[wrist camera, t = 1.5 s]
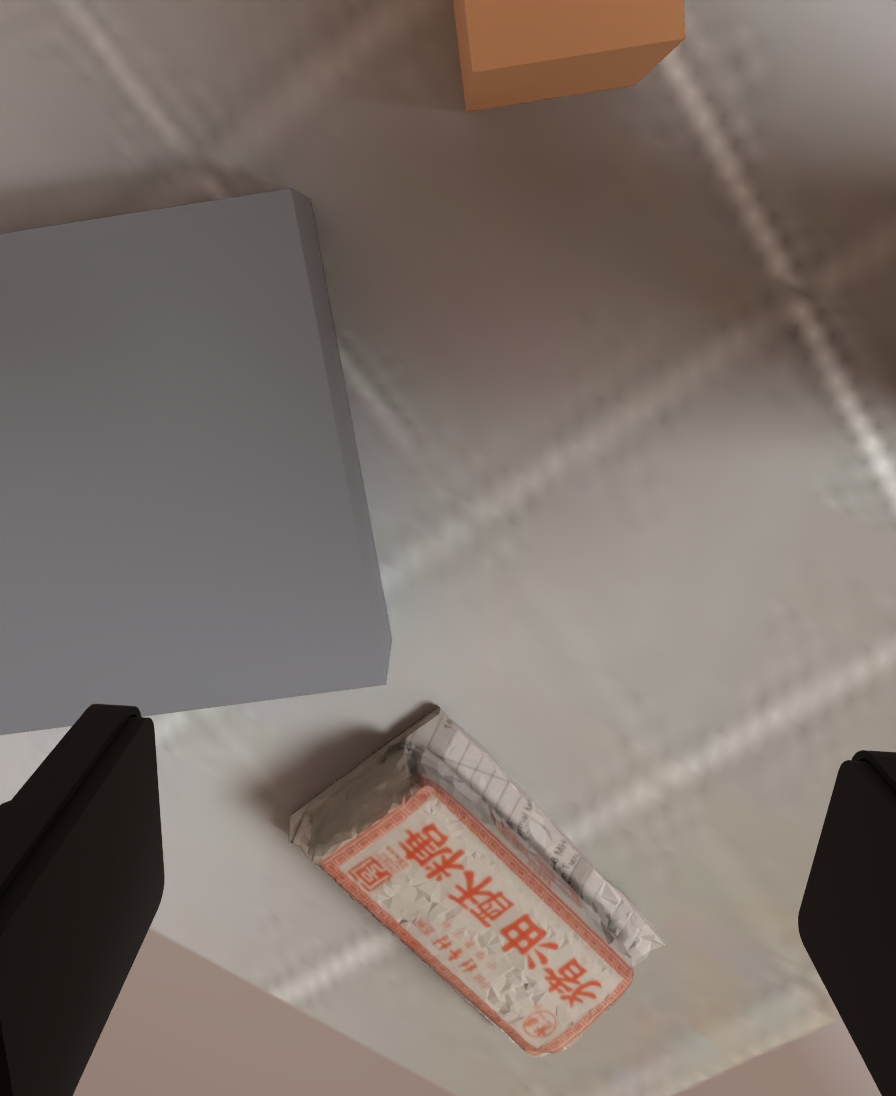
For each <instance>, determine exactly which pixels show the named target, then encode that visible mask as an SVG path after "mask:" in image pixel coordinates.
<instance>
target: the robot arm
mask: <svg viewBox="0 0 896 1096" xmlns="http://www.w3.org/2000/svg"><path fill="white" fill-rule="evenodd" d="M163 889H164V863H163V849H162V834H161V819H160V805H159V790H158V775H157V761H156V746H155V732H154V724H153V721H152V719H150V718H142V717H141V713H140V710H139V708H137V707H136V706H125V705H109V704H92V705H90V706H89V707H88V708H87V709H86V710H85V712H84V713H83V714H82V715H81V716H80V718H79V719H78V720H77V721H76V722H75V724H74V725H73V726H72V727H71V728H70V730H69V731H68V732H67V733H66V735H65V736H64V737H63V738H62V739H61V741H60V742H59V743H58V744H57V745H56V747H55V748H54V749H53V750H52V752H51V753H50V754H49V755H48V756H47V758H46V759H45V760H44V761H43V762H42V764H41V765H40V766H39V767H38V768H37V770H36V771H35V772H34V773H33V775H32V776H31V777H30V778H29V779H28V781H27V782H26V783H25V784H24V785H23V787H22V788H21V789H20V790H19V791H18V793H17V794H16V795H15V796H14V798H13V799H12V800H11V801H8V802H5V803H3V804H1V805H0V1096H73V1093H74V1091H75V1089H76V1087H77V1085H78V1083H79V1080H80V1078H81V1076H82V1074H83V1072H84V1069H85V1067H86V1065H87V1063H88V1061H89V1058H90V1056H91V1054H92V1052H93V1050H94V1048H95V1045H96V1043H97V1041H98V1039H99V1037H100V1034H101V1032H102V1030H103V1028H104V1026H105V1023H106V1021H107V1019H108V1017H109V1015H110V1012H111V1010H112V1008H113V1006H114V1004H115V1001H116V999H117V997H118V995H119V993H120V991H121V988H122V986H123V984H124V982H125V980H126V978H127V975H128V973H129V971H130V969H131V967H132V964H133V962H134V960H135V958H136V955H137V953H138V951H139V949H140V947H141V945H142V943H143V940H144V938H145V936H146V934H147V932H148V929H149V927H150V925H151V923H152V921H153V918H154V916H155V914H156V912H157V910H158V907H159V905H160V902H161V898H162V894H163ZM798 926H799V933H800V937H801V940H802V942H803V945H804V947H805V949H806V950H807V952H808V954H809V956H810V958H811V960H812V962H813V964H814V966H815V968H816V970H817V972H818V974H819V975H820V977H821V979H822V981H823V983H824V985H825V987H826V989H827V991H828V993H829V995H830V997H831V999H832V1000H833V1002H834V1004H835V1006H836V1008H837V1010H838V1012H839V1014H840V1016H841V1018H842V1020H843V1022H844V1023H845V1025H846V1027H847V1029H848V1031H849V1033H850V1035H851V1037H852V1039H853V1041H854V1043H855V1045H856V1046H857V1049H858V1050H859V1052H860V1054H861V1056H862V1058H863V1060H864V1062H865V1064H866V1066H867V1068H868V1070H869V1072H870V1073H871V1075H872V1077H873V1079H874V1081H875V1083H876V1085H877V1087H878V1089H879V1091H880V1093H881V1094H882V1096H896V752H881V751H864V750H862V751H859V752H857V753H856V754H855V755H854V756H853V758H852V760H847V761H844V762H843V763H842V765H841V766H840V769H839V771H838V775H837V779H836V782H835V786H834V789H833V793H832V796H831V800H830V804H829V807H828V811H827V814H826V818H825V821H824V825H823V828H822V832H821V836H820V839H819V843H818V846H817V850H816V853H815V857H814V861H813V864H812V868H811V871H810V875H809V878H808V882H807V886H806V889H805V893H804V896H803V900H802V903H801V907H800V911H799V916H798Z"/></svg>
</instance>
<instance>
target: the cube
mask: <svg viewBox="0 0 896 1096" xmlns="http://www.w3.org/2000/svg"><path fill="white" fill-rule="evenodd" d="M453 8H454V16H455V25H456V33H457V41H458V50H459V58H460V66H461V75H462V83H463V91H464V100H465V108H466V112H469V111H476V110H482V109H488V108H495V107H501V106H507V105H513V104H520V103H526V102H532V101H539V100H545V99H551V98H557V97H564V96H570V95H576V94H583V93H589V92H595V91H601V90H608V89H614V88H620V87H626V86H633V85H636V84H637V83H638V82H639V81H640V80H641V79H642V78H643V77H644V76H645V75H646V74H648V73H649V72H650V71H651V70H652V69H653V68H654V67H655V66H656V65H657V64H658V63H659V62H660V61H661V60H662V59H663V58H665V57H666V56H667V55H668V54H669V53H670V52H671V51H672V50H673V49H674V48H675V47H676V46H677V45H678V44H679V43H680V42H682V41H683V40H684V39H685V25H684V0H453Z"/></svg>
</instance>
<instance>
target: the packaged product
mask: <svg viewBox="0 0 896 1096" xmlns="http://www.w3.org/2000/svg"><path fill="white" fill-rule="evenodd" d="M289 842H291V843H293V844H295V845H297V846H299V847H301V848H302V850H303V851H304V853H305V854H306V856H307V857H308V858H310V859H311V860H312V862H314V863H316V864H318V865H319V866H320V867H321V869H323V870H324V871H325V873H327V874H328V875H329V876H331V877H332V878H333V879H334V880H335V881H336V882H337V884H338V885H339V886H340V887H342V888H343V889H344V890H346V891H347V892H348V893H349V894H350V897H351V898H352V899H353V900H356V901H358V902H359V903H360V905H361V906H363V907H364V908H365V909H367V910H368V911H369V912H371V913H372V914H373V917H375V918H376V919H377V920H378V921H379V922H380V924H382V925H383V926H384V927H386V928H387V929H388V930H389V931H390V932H391V933H393V934H394V935H395V936H396V937H398V938H399V939H400V940H401V941H402V942H403V943H405V944H406V945H407V946H408V947H409V948H410V949H411V950H412V951H413V952H414V953H415V954H416V955H417V956H419V957H420V958H421V959H422V960H423V961H424V962H425V963H426V964H428V965H429V966H430V967H431V968H432V969H433V970H434V971H435V972H436V973H437V974H439V975H440V976H441V977H442V978H444V979H445V980H446V981H448V983H449V984H450V985H451V986H452V987H453V988H454V989H455V990H456V991H457V992H458V993H459V994H460V995H461V996H462V997H463V998H464V999H465V1000H466V1001H468V1002H469V1003H470V1004H471V1005H472V1006H473V1007H475V1008H476V1009H477V1010H478V1011H479V1012H480V1013H481V1014H482V1015H483V1016H484V1017H486V1018H487V1019H488V1020H489V1021H490V1022H491V1023H492V1024H493V1025H494V1026H496V1027H497V1028H498V1029H500V1030H501V1031H502V1032H503V1033H504V1034H505V1035H506V1036H507V1037H508V1038H509V1039H510V1040H511V1041H512V1042H513V1043H516V1044H517V1045H519V1046H520V1047H521V1048H522V1049H523V1050H524V1051H525V1052H526V1053H529V1054H530V1055H531V1056H532V1057H533V1058H534V1057H541V1056H545V1055H547V1054H549V1053H551V1054H556V1053H559V1052H562V1051H564V1050H566V1049H568V1048H570V1047H571V1046H572V1045H573V1044H575V1043H576V1042H577V1041H578V1040H579V1039H580V1038H581V1036H582V1034H583V1032H584V1031H585V1030H586V1029H588V1028H589V1027H590V1026H591V1025H592V1024H593V1023H594V1022H595V1021H596V1020H597V1019H598V1018H599V1017H600V1015H601V1014H602V1013H603V1012H604V1011H606V1010H609V1009H608V1006H614V1005H615V1004H616V1002H617V1001H618V1000H619V999H620V998H621V996H622V995H623V993H624V992H625V991H626V989H627V988H628V987H629V986H630V985H631V983H632V979H633V974H634V973H633V968H632V967H633V966H635V965H636V964H638V963H639V962H641V961H643V960H645V959H647V956H648V954H649V951H651V950H654V949H656V948H659V947H662V946H665V944H664V942H663V940H662V938H661V936H660V934H659V933H658V932H657V930H656V929H655V928H654V927H653V926H652V925H651V924H650V923H649V922H648V920H647V919H646V918H645V917H644V916H643V915H642V914H641V912H640V911H639V910H638V909H637V908H636V907H635V906H634V905H633V904H632V903H631V902H630V901H629V900H628V899H627V898H626V897H625V896H624V895H623V894H622V893H621V892H620V891H619V890H618V889H617V888H616V887H615V886H613V885H612V884H611V883H610V882H609V881H608V880H607V879H606V878H605V877H603V876H602V875H601V874H600V872H599V871H598V870H597V869H596V868H595V867H594V866H593V865H592V864H591V863H590V861H589V860H588V859H587V858H586V857H585V856H584V855H583V854H582V853H581V852H580V851H579V849H578V848H577V847H576V846H575V845H574V844H573V843H572V842H571V841H570V840H569V838H568V837H567V836H566V835H565V834H564V833H563V832H562V831H561V830H560V829H559V828H558V827H557V826H556V824H555V823H554V822H553V821H552V820H551V818H550V817H549V816H548V815H547V814H546V812H545V811H544V810H543V809H542V808H541V807H540V806H539V805H538V804H537V803H535V802H534V800H533V799H532V798H531V797H530V796H529V795H528V794H527V793H525V792H524V791H523V790H522V789H521V788H520V787H518V786H517V785H516V784H515V783H514V782H512V781H511V780H510V779H509V778H508V777H507V776H506V775H505V773H504V772H503V771H502V770H501V769H500V768H499V766H498V765H497V764H496V763H495V762H494V761H493V760H492V758H491V757H490V756H489V755H488V754H487V753H486V752H485V751H484V750H483V749H482V748H481V747H480V746H479V745H478V744H477V743H476V742H475V741H474V740H473V739H472V738H471V737H470V736H469V735H468V734H467V733H466V732H465V731H464V730H463V729H462V728H461V727H460V726H459V725H458V724H457V723H455V722H454V721H453V720H452V719H451V718H450V717H449V716H448V715H447V714H446V713H445V712H443V710H442V709H441V708H440V707H438V708H437V709H435V710H434V711H432V712H431V713H429V714H428V715H427V716H425V717H424V718H422V719H421V720H420V721H418V722H417V723H415V724H414V725H413V726H411V727H410V728H408V729H407V730H406V731H404V732H403V733H402V734H400V735H399V736H397V737H396V738H395V739H393V740H392V741H391V742H389V743H388V744H386V745H385V746H384V747H382V748H381V749H379V750H378V751H377V752H375V753H374V754H373V755H371V756H370V757H368V758H367V759H366V760H364V761H363V762H362V763H361V764H359V765H358V766H357V767H356V768H355V769H353V770H352V771H351V772H349V773H348V774H347V775H345V776H344V777H342V778H341V779H339V780H338V781H336V782H335V783H334V784H332V785H331V786H330V787H328V788H327V789H326V790H324V791H323V792H322V793H320V794H319V795H318V796H316V797H315V798H314V799H312V800H311V801H310V802H308V803H307V804H306V805H304V806H303V807H302V808H300V809H299V810H298V811H296V812H295V813H294V814H292V815H291V817H290V829H289Z"/></svg>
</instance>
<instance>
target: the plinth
mask: <svg viewBox="0 0 896 1096" xmlns="http://www.w3.org/2000/svg"><path fill="white" fill-rule="evenodd" d="M391 643H392V637H391V632H390V626H389V621H388V615H387V610H386V605H385V599H384V594H383V588H382V583H381V578H380V572H379V567H378V561H377V556H376V550H375V545H374V540H373V534H372V529H371V523H370V518H369V513H368V507H367V502H366V496H365V491H364V486H363V480H362V475H361V469H360V464H359V459H358V453H357V448H356V442H355V437H354V432H353V426H352V421H351V415H350V410H349V404H348V399H347V394H346V388H345V383H344V377H343V372H342V367H341V361H340V356H339V350H338V345H337V340H336V334H335V329H334V323H333V318H332V313H331V307H330V302H329V296H328V291H327V285H326V280H325V275H324V269H323V264H322V258H321V253H320V248H319V242H318V237H317V231H316V226H315V221H314V215H313V210H312V204H311V199H310V198H308V197H306V196H304V195H302V194H300V193H299V192H297V191H295V190H293V189H291V188H289V189H283V190H276V191H270V192H264V193H257V194H251V195H244V196H238V197H232V198H225V199H219V200H213V201H206V202H200V203H193V204H187V205H181V206H174V207H168V208H162V209H155V210H149V211H142V212H136V213H130V214H123V215H117V216H111V217H104V218H98V219H91V220H85V221H79V222H72V223H66V224H60V225H53V226H47V227H40V228H34V229H28V230H21V231H15V232H8V233H2V234H0V735H5V734H13V733H21V732H28V731H36V730H43V729H51V728H59V727H66V726H73V725H74V724H75V722H76V721H77V720H78V719H79V718H80V716H81V715H82V714H83V713H84V712H85V710H86V709H87V708H88V707H89V706H90V705H92V704H109V705H125V706H136V707H137V708H139V710H140V713H141V717H143V716H150V715H158V714H165V713H173V712H181V711H188V710H196V709H204V708H211V707H219V706H226V705H234V704H242V703H249V702H257V701H265V700H272V699H280V698H287V697H295V696H303V695H310V694H318V693H326V692H333V691H341V690H348V689H356V688H364V687H371V686H379V685H386V681H387V673H388V666H389V658H390V650H391Z"/></svg>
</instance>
